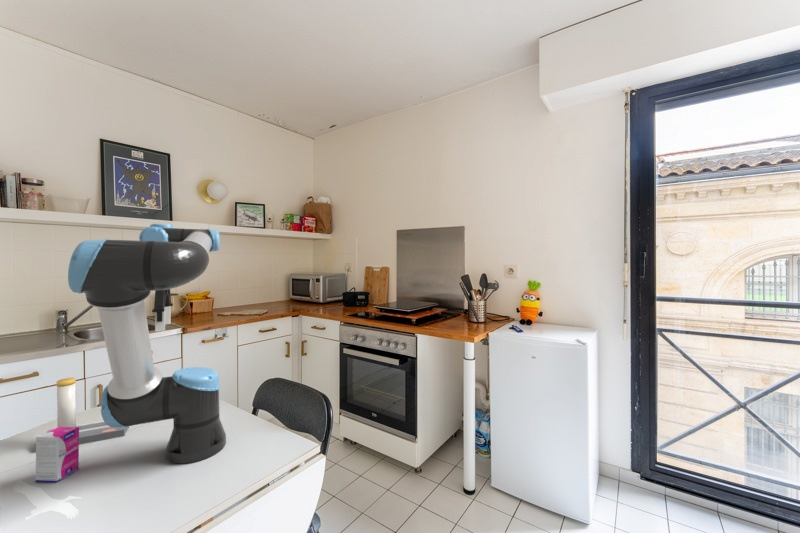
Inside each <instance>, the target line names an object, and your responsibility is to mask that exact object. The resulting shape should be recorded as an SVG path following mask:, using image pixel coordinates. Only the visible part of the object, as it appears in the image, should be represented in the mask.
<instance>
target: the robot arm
mask: <svg viewBox="0 0 800 533" xmlns="http://www.w3.org/2000/svg"><path fill="white" fill-rule="evenodd" d="M220 237H221V236H220V232H219V231H218V229H217V230H216V229H210V228H207V229H205V228H204V229H203V228H202V229H201V228H200V229H199V228H181V227H180V228H178V227H177V228H176V227H175V226H174V225H173V224H169V223H151V224H149V226H148V227H145V228H144V229H142V230H141V232H140V233H139V237H138V239H139V240H128V239H109V238H105V239H87V240H84V241H82V242H80V243H78V244H77V245H76V247H75V248H74V250H73V252H72V255H71V257H70V260H69V264H68V270H67V282H68V287H69V289H70V290H71V291H72V292H73V293H78V294H83V293H84V295H85V297H86V298H85V299H86V302H87V303H88V304H89V305H90V306H92V307H94V308H97V309H98V310H97V311H98V314H99V319H100V324H101V329H102V332H103V333H102V334H103V339H104V343H105V346H106V347H105V348H106V351H107V352H106V353H107V358H108V361H109V366H110V370H111V375H112V379H111V380H110V381H109V382H108V384H107V385H106V386H105V388H104V389H103V390H102V393H101V397H100V407H101V408H100V414H101V417H102V421H104V422H105V423H106V424H107V425H108V426H110V427H129V426H130V427H133V426H137V425H144V424H150V423H155V422H161V421H167V420H172V419H173V429H172V431H171V433H170V436H169V439H168V442H167V446H166V448H165V449H166V452H165V453H166V455H165V456H166V459H167V461H169V462H171V463H174V464H191V463H195V462H200V461H203V460H205V459H207V458H210V457H212V456H214V455H216V454H218V453H219V452H221V451H222V450H223V449H224V448H225V446H226V444H227V435H226V434H227V433H226V432H225V428H224V427H223V424H222V422H221V418H220V388H221V385H220V378H219V377H220V376H219V373H218V372H217V371H216V370H215V369H212V368H210V367H201V366H193V367H191V366H190V367H185V368H179V369H177V370H175V371H174V372H173V374H172V376H164V377H163V374H162V371H161V370H160V369H159V368H157V367H155V365H154V358H153V351H152V345H151V339H150V333H149V325H148V317H147V312H146V305H145V300H147V299H148V298H149V297H150V295H151V292H152V291H154V303H153V304H154V306H153V309H151V313H154V332H165V331H166V325H171V322H172V321H171V320H172V319H171V318H172V317H171V316H172V315H171V307H173V306H174V303H173V302H172V298H171V295H172V294H171V290H172V289H176V288H178V287H181V286H184V285H186V284H189V283H190V282H192V281H194V280H196V279H198V278H199V277H200V276H201V275H203V273H204V272H205V271H206V270H207V268H208V266H209V263H210V261H209V260H210V258H209V257H210V256H209V253H210V252H218V251H219V250H220V243H221V242H220V241H221V240H220ZM130 427H129V428H130Z"/></svg>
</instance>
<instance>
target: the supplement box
mask: <svg viewBox="0 0 800 533" xmlns="http://www.w3.org/2000/svg"><path fill="white" fill-rule="evenodd" d="M52 429H53V430H51V431H49V432H47V431H46V432H45V433H42V434H41V435H38V436H36V439H35V447H36V448H35V480H34V482H35V483H49V484H51V483H53V484H55V483H58V482H60V481H62V479H65V478H66V477H68V476H69V475H71V474H72V473H74V472H76V471H78V470H79V468H80V466H79V459H80V458H79V456H80V454H79V453H80V452H79V451H80V450H79V449H80V444H79V427H58V426H57V427H55V428H52Z"/></svg>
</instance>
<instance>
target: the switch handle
mask: <svg viewBox="0 0 800 533" xmlns="http://www.w3.org/2000/svg"><path fill="white" fill-rule="evenodd" d="M76 380H77V378H75V377H66V378H63V379H62V378H61V379H59V380H57V381H56V400H57V402H56V407H57V412H56V413H57V419H56V420H57V427H77V426H76V425H77V421H76V419H77V418H76V417H77V416H76V415H77V414H76V412H77V411H76V410H77V409H76V401H77V400H76Z"/></svg>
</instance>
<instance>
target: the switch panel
mask: <svg viewBox="0 0 800 533" xmlns="http://www.w3.org/2000/svg"><path fill="white" fill-rule="evenodd" d="M76 426H77V427H79V445H82V444H88V443H93V442H98V441H99V442H100V441H105V440H109V439H115V437H116V438H120V436H121V437H125V436H126V434H127V432H128V431H129V429H130V427H110V426H108V425H107V424H106V423H105V422H104V420H99V421H93V422H88V423H87V422H86V423H80V424H76ZM53 429H54V428H52V429H51V428H50V429H49V430H47V431H46V432H49V431H51V430H53ZM125 433H126V434H125Z"/></svg>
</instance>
